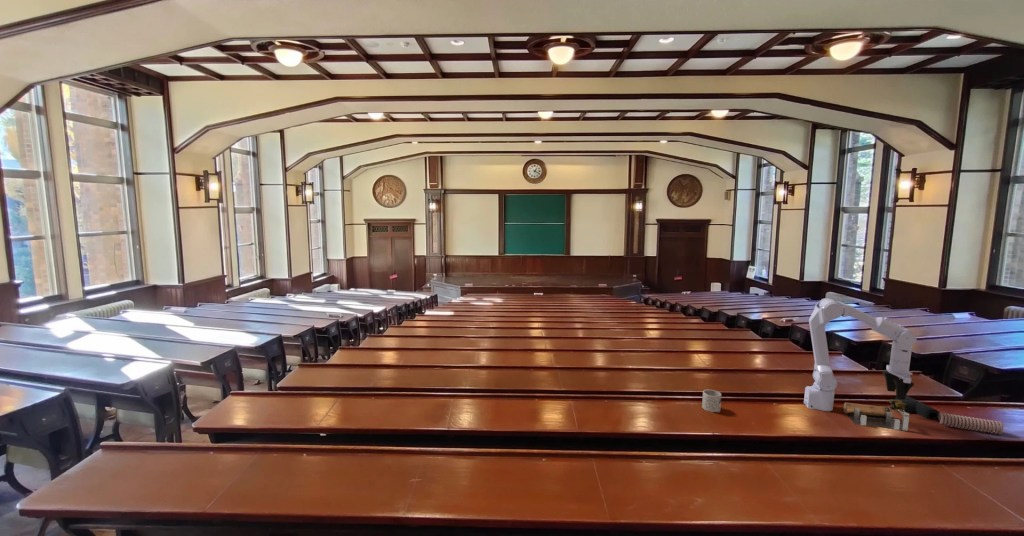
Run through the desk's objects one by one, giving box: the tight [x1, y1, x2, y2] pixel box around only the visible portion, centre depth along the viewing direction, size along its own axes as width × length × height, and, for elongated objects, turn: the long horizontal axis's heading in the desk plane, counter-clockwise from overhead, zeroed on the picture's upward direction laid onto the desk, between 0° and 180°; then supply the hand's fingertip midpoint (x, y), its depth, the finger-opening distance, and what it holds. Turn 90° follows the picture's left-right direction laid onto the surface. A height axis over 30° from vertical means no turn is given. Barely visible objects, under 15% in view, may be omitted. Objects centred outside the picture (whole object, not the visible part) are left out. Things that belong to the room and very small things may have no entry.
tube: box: [843, 402, 893, 418], centre depth 177 cm, size 14×4×4 cm, turn 72°
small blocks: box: [853, 408, 901, 431], centre depth 171 cm, size 12×7×4 cm, turn 72°
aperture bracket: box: [897, 410, 910, 432], centre depth 167 cm, size 2×4×6 cm, turn 162°
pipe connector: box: [888, 394, 940, 420], centre depth 182 cm, size 12×5×15 cm
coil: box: [937, 412, 1004, 435], centre depth 169 cm, size 5×5×18 cm
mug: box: [701, 389, 722, 413], centre depth 186 cm, size 10×7×7 cm, turn 179°
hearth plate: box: [845, 413, 909, 432], centre depth 174 cm, size 16×12×2 cm
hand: (895, 394), depth 176 cm, fingers open, 7 cm apart
